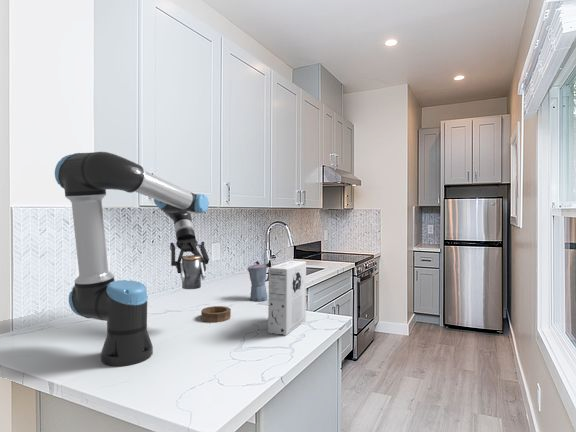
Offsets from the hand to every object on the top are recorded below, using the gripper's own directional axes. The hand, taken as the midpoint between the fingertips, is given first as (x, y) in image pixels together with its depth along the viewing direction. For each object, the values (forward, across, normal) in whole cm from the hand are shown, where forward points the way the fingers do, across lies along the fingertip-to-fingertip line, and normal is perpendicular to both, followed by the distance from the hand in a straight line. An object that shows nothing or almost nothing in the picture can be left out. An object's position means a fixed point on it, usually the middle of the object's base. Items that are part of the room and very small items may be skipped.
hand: (193, 278), depth 141 cm
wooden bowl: (+4, -13, -25) cm, 28 cm away
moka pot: (-11, -42, -41) cm, 60 cm away
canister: (0, 0, -5) cm, 5 cm away
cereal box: (+21, -36, -9) cm, 42 cm away
